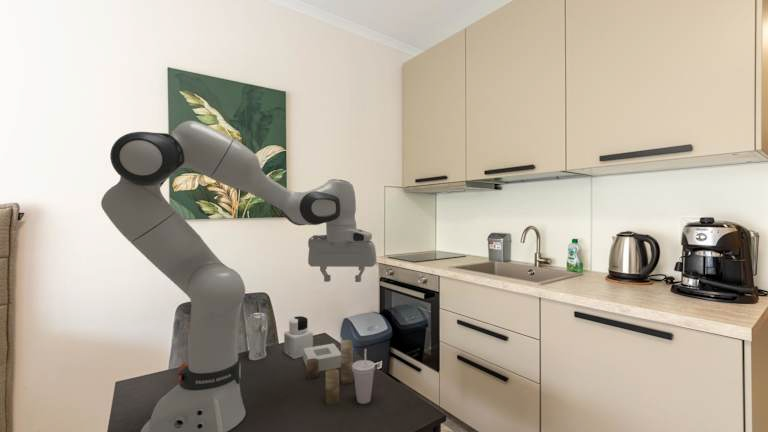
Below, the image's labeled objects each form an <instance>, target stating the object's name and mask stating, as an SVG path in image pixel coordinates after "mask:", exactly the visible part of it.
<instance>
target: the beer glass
mask: <svg viewBox="0 0 768 432" xmlns="http://www.w3.org/2000/svg"><path fill="white" fill-rule="evenodd" d="M246 320H247V321H246V334H247V340H248V345H249V351H248V359H249V360H250V361H260V360H263V359H265V358H266V357H267V355H268V354H267V351H266V343H267V341H266V340H267V337H268V327H269V326H268V325H269V324H268V314H267V313H266V312H253V313H250V314H248V315H247V319H246Z"/></svg>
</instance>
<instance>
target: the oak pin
mask: <svg viewBox="0 0 768 432" xmlns="http://www.w3.org/2000/svg"><path fill="white" fill-rule="evenodd" d="M339 402H340V371H339V369H338V368H335V369H330V370H325V403H326V405H329V406H335V405H337V404H339Z"/></svg>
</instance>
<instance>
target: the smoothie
mask: <svg viewBox="0 0 768 432" xmlns="http://www.w3.org/2000/svg"><path fill="white" fill-rule="evenodd" d="M363 354H364V355H363V356H364V358H363V359H361V360H360V359H359V360H356V361H355V362H354V361H353V364H352V370H353V381H354V388H355V396H356V401H357V403H359V404H360V405H361V404H362V405H363V404H364V405H365V404H368V403H370V402H371V399H372V391H373V390H372V389H373V381H374V374H375V373H374V372H375V370H376V364H375V362H374V361H372V360H368V359H367V348H364V353H363Z"/></svg>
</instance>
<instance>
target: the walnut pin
mask: <svg viewBox="0 0 768 432" xmlns="http://www.w3.org/2000/svg"><path fill="white" fill-rule="evenodd" d="M319 373H320V372H319V360H318V359H315V358H313V359H309V360H307V367H306V378H307V380H317V379H318V378H319V376H320V375H319Z"/></svg>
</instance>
